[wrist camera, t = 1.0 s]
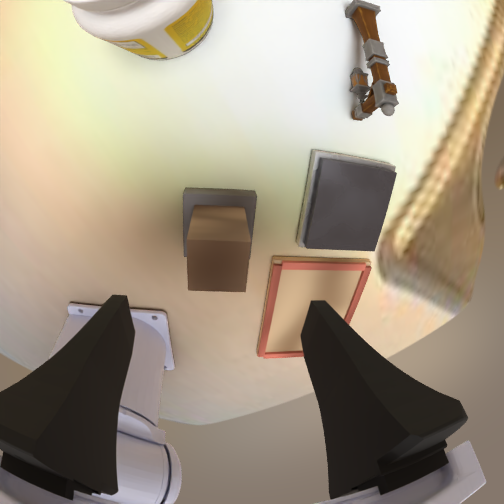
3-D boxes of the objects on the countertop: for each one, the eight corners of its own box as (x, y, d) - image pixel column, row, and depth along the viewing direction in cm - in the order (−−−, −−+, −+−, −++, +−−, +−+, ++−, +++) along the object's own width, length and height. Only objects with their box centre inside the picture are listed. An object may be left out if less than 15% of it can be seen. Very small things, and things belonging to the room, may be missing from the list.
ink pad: (295, 241, 20) (301, 252, 19) (311, 149, 16) (319, 154, 15) (368, 244, 21) (376, 254, 19) (389, 163, 17) (401, 169, 16)
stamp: (185, 247, 19) (175, 300, 15) (185, 187, 17) (171, 225, 12) (248, 249, 20) (257, 302, 15) (254, 190, 18) (267, 229, 13)
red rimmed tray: (256, 352, 26) (257, 358, 25) (272, 256, 20) (274, 262, 20) (333, 348, 27) (335, 353, 26) (368, 259, 21) (372, 264, 21)
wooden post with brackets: (345, 131, 15) (382, 107, 11) (330, 32, 14) (355, -4, 10) (370, 134, 15) (411, 114, 11) (353, 37, 14) (381, 5, 10)
